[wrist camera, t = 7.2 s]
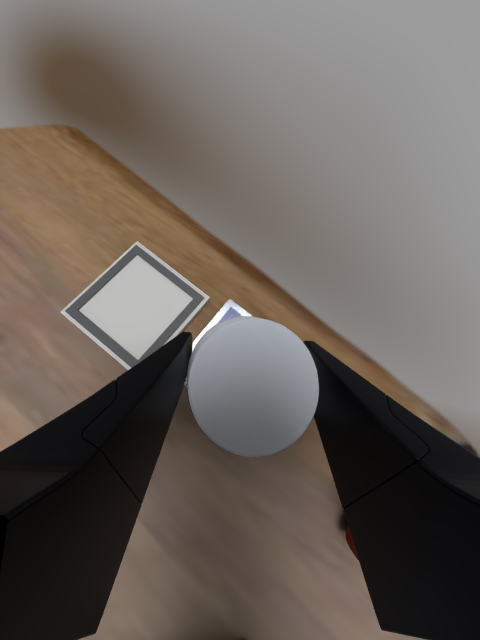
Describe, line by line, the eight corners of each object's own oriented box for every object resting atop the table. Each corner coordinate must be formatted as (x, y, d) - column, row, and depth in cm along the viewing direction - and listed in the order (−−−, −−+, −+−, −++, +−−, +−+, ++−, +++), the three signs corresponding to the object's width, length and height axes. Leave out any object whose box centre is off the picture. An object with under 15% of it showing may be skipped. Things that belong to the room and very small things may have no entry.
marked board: (210, 299, 19) (209, 296, 18) (141, 378, 17) (137, 379, 16) (139, 244, 20) (136, 240, 19) (65, 313, 18) (58, 311, 17)
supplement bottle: (192, 375, 14) (119, 409, 5) (229, 322, 15) (231, 263, 6) (247, 414, 14) (287, 537, 4) (281, 356, 15) (372, 354, 6)
